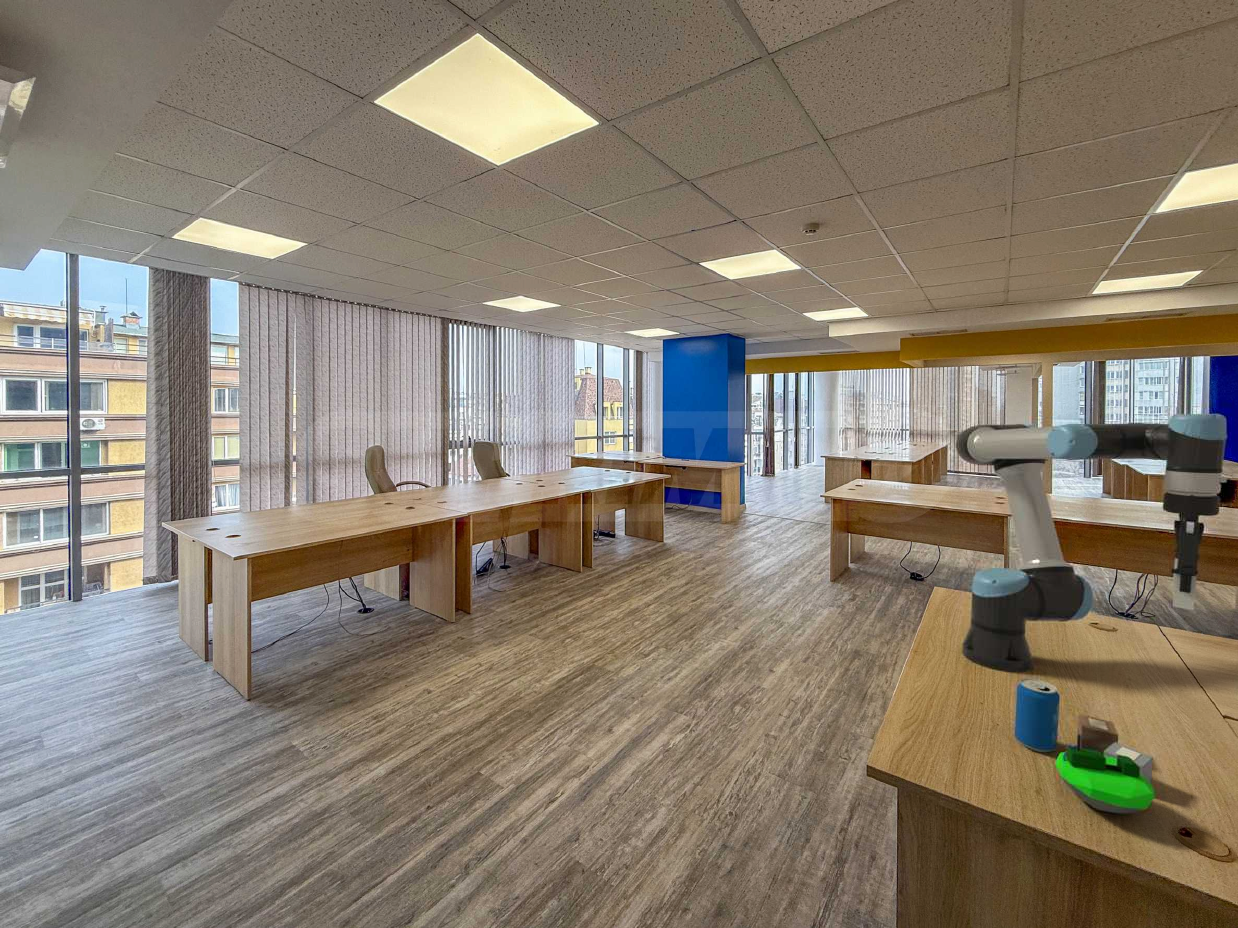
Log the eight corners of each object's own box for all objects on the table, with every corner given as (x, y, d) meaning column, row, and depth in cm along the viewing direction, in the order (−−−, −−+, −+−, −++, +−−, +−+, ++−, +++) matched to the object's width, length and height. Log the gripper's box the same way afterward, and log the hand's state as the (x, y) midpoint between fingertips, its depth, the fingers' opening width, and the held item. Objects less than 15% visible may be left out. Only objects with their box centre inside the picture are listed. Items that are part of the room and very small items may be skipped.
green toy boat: (1073, 820, 84) (1077, 755, 83) (1044, 773, 95) (1047, 714, 94) (1172, 840, 80) (1177, 771, 79) (1130, 788, 91) (1134, 727, 90)
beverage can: (1046, 758, 99) (1049, 696, 98) (1007, 740, 105) (1010, 681, 104) (1063, 748, 102) (1066, 688, 101) (1025, 731, 108) (1028, 674, 107)
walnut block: (1081, 751, 101) (1082, 725, 101) (1077, 738, 105) (1078, 713, 105) (1116, 760, 98) (1118, 734, 98) (1111, 746, 102) (1113, 721, 102)
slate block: (1102, 777, 94) (1103, 750, 93) (1113, 768, 96) (1114, 741, 96) (1140, 794, 89) (1142, 765, 89) (1150, 784, 92) (1152, 756, 91)
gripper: (1225, 503, 92) (1214, 621, 94) (1216, 488, 109) (1207, 588, 111) (1163, 498, 97) (1154, 610, 99) (1164, 485, 115) (1156, 580, 117)
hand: (1182, 599), depth 105 cm, fingers open, 13 cm apart
